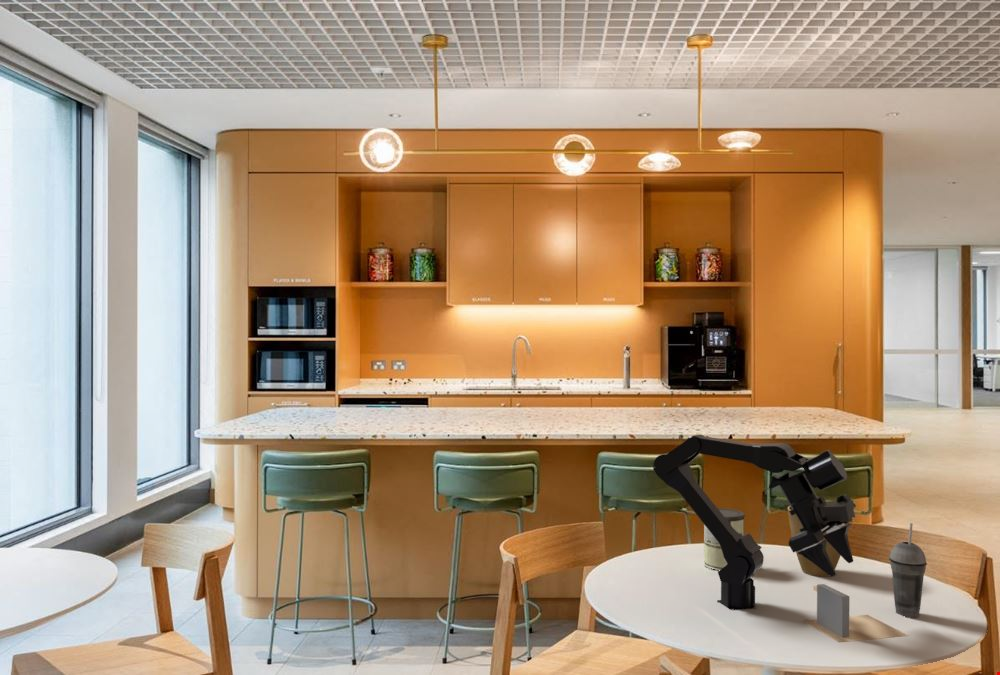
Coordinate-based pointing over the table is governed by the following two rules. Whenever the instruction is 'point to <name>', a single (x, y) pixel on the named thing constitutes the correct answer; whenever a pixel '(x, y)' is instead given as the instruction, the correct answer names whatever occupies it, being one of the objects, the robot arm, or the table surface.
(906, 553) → the beverage cup
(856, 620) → the cork mat
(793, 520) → the plant pot
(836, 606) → the slate tile
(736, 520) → the coffee can
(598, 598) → the table surface
